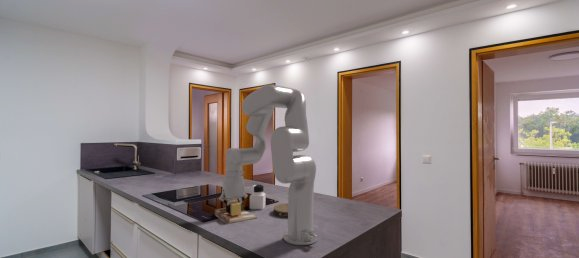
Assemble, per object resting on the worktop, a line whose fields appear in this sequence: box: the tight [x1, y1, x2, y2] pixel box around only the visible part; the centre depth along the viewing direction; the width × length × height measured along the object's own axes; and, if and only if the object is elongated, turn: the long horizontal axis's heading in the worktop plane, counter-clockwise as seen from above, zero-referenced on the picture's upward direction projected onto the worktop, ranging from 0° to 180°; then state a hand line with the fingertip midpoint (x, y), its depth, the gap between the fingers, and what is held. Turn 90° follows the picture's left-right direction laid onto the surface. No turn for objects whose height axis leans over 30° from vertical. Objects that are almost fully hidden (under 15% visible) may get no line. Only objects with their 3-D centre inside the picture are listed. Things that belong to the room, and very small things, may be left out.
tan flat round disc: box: [273, 202, 288, 219], centre depth 137 cm, size 16×16×3 cm
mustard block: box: [230, 199, 242, 216], centre depth 131 cm, size 4×8×5 cm, turn 32°
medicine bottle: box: [249, 184, 266, 210], centre depth 146 cm, size 7×7×12 cm
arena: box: [213, 204, 258, 225], centre depth 130 cm, size 16×15×2 cm
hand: (233, 211), depth 131 cm, fingers closed on mustard block, 4 cm apart
